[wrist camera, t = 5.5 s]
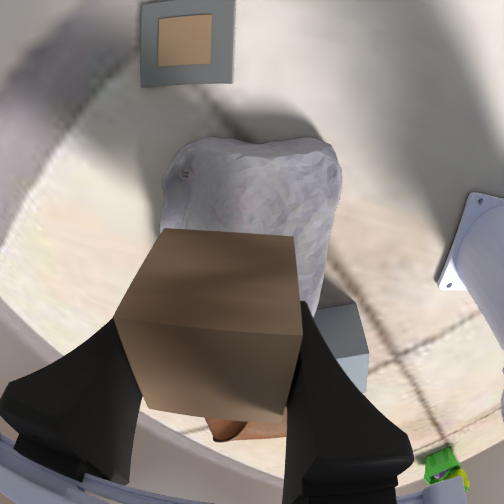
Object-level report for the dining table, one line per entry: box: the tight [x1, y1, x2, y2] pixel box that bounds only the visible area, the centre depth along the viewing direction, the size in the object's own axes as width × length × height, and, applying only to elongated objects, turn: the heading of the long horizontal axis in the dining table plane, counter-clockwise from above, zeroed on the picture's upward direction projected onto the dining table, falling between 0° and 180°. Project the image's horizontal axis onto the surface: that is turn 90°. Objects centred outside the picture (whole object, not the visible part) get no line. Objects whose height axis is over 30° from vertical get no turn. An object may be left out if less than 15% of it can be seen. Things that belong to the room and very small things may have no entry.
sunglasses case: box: [205, 404, 287, 442], centre depth 29 cm, size 18×7×7 cm
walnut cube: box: [113, 228, 303, 423], centre depth 11 cm, size 5×5×5 cm
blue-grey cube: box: [314, 303, 369, 393], centre depth 22 cm, size 5×5×5 cm
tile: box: [140, 0, 236, 88], centre depth 13 cm, size 5×5×1 cm
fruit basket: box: [424, 448, 470, 492], centre depth 40 cm, size 11×9×11 cm
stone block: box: [160, 137, 342, 318], centre depth 18 cm, size 12×5×10 cm
